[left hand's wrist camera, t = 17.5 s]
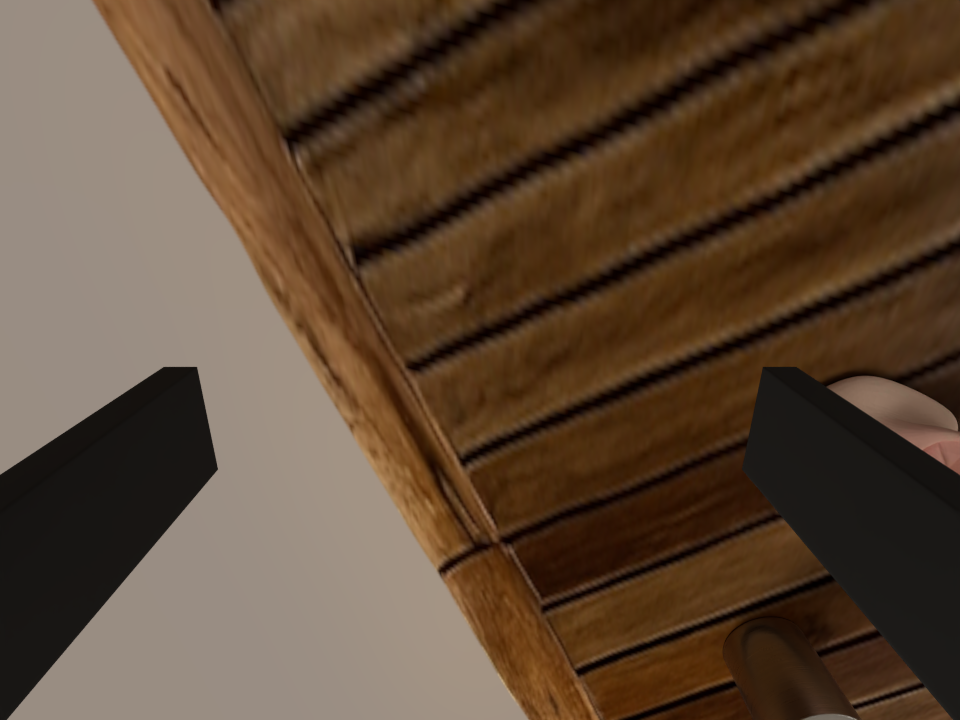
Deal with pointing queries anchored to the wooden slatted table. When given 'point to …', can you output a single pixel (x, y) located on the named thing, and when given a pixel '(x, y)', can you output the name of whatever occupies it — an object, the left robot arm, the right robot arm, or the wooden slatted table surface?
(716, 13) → the wooden slatted table surface
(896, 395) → the anatomical model
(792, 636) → the canister
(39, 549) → the left robot arm
